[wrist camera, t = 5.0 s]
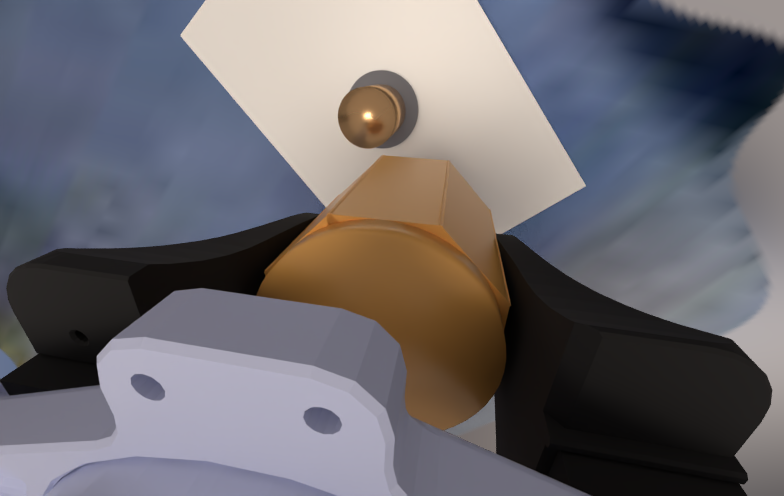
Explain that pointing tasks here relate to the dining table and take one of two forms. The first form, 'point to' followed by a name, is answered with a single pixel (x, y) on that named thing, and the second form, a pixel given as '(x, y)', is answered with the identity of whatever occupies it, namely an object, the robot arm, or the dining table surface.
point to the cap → (411, 279)
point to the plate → (407, 39)
